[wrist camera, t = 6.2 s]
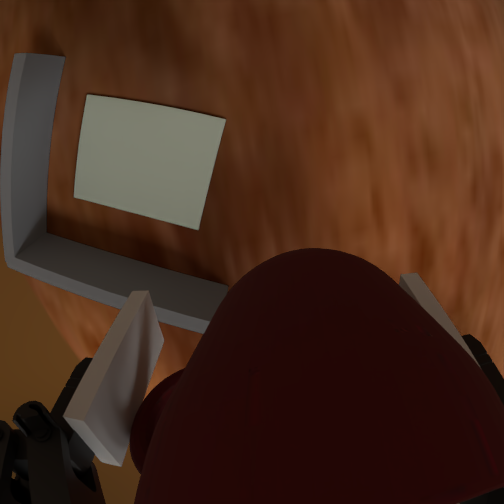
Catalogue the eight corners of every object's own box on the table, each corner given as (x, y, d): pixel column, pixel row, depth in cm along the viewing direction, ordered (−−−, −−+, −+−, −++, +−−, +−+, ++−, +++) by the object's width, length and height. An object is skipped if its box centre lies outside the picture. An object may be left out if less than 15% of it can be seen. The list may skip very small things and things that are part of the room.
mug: (232, 399, 16) (213, 577, 7) (122, 294, 13) (12, 502, 4) (421, 312, 13) (512, 508, 4) (345, 152, 10) (592, 384, 1)
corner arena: (286, 92, 23) (292, 88, 18) (225, 298, 32) (217, 337, 26) (54, 56, 21) (14, 53, 16) (37, 241, 30) (6, 266, 25)
